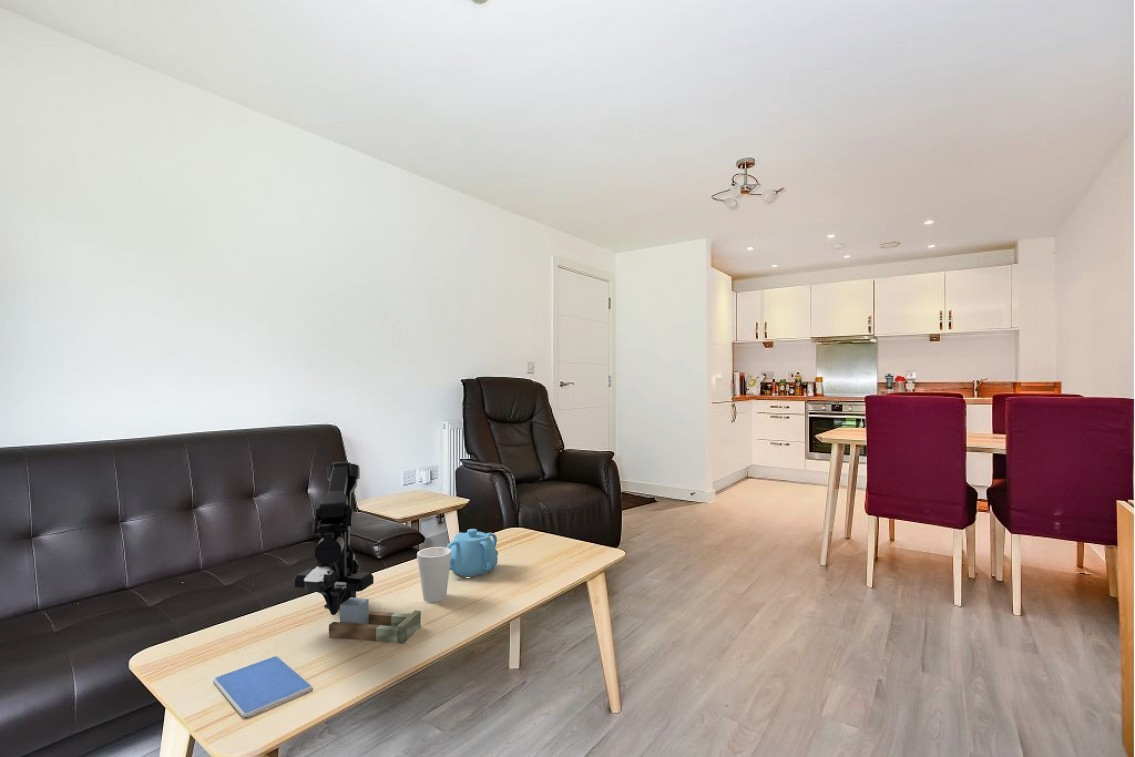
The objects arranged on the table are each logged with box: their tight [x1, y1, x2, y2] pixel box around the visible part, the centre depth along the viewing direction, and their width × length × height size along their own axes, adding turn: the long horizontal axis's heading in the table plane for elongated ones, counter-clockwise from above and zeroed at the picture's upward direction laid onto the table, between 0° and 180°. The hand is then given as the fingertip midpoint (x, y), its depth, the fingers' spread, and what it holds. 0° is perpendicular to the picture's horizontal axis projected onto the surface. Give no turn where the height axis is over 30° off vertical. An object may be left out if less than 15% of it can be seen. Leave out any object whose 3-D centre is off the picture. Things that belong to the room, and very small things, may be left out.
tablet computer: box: [212, 655, 313, 719], centre depth 106 cm, size 19×13×1 cm, turn 48°
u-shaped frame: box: [328, 609, 422, 645], centre depth 129 cm, size 19×9×4 cm, turn 79°
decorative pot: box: [446, 528, 499, 578], centre depth 170 cm, size 16×16×14 cm
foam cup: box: [416, 546, 451, 603], centre depth 149 cm, size 10×9×13 cm
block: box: [339, 597, 370, 624], centre depth 130 cm, size 5×4×7 cm
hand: (334, 614), depth 131 cm, fingers closed
